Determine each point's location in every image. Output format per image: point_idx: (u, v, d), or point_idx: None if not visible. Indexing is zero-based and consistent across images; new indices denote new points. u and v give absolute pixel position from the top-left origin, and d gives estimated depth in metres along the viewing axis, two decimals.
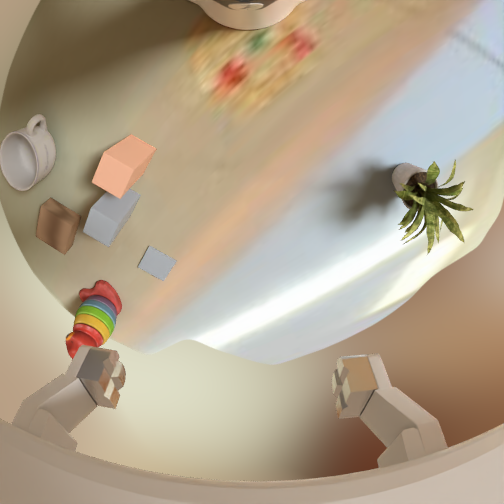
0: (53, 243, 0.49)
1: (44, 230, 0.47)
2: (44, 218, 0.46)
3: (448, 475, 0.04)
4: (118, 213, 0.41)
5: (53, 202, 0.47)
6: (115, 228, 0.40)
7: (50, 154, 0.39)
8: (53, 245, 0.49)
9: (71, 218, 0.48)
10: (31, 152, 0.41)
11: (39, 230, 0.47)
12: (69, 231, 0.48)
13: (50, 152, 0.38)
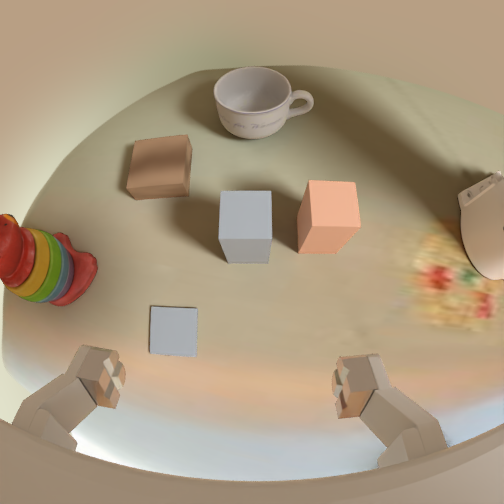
0: (136, 167, 0.37)
1: (152, 149, 0.38)
2: (171, 144, 0.38)
3: (448, 474, 0.04)
4: None
5: (190, 153, 0.41)
6: (260, 237, 0.28)
7: (270, 128, 0.38)
8: (133, 168, 0.37)
9: (186, 181, 0.38)
10: (243, 110, 0.43)
11: (147, 143, 0.38)
12: (170, 182, 0.36)
13: (272, 128, 0.38)
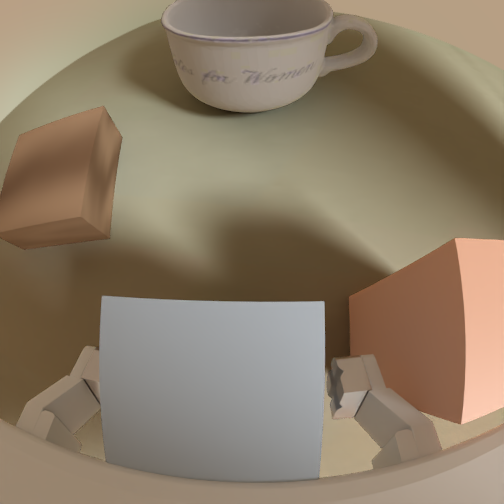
0: (11, 187, 0.14)
1: (39, 145, 0.15)
2: (71, 129, 0.15)
3: (448, 475, 0.04)
4: None
5: (115, 146, 0.18)
6: None
7: (287, 86, 0.15)
8: (6, 189, 0.14)
9: (96, 208, 0.15)
10: None
11: (35, 135, 0.15)
12: (58, 216, 0.14)
13: (291, 85, 0.15)
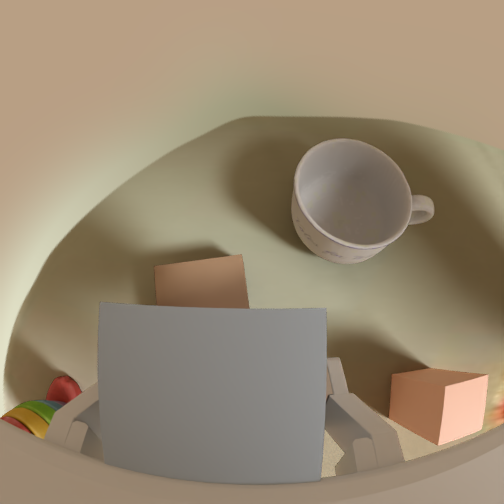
0: None
1: (187, 283, 0.25)
2: (218, 273, 0.25)
3: (448, 474, 0.04)
4: None
5: None
6: None
7: None
8: None
9: None
10: (322, 201, 0.30)
11: (176, 271, 0.26)
12: None
13: (376, 253, 0.25)
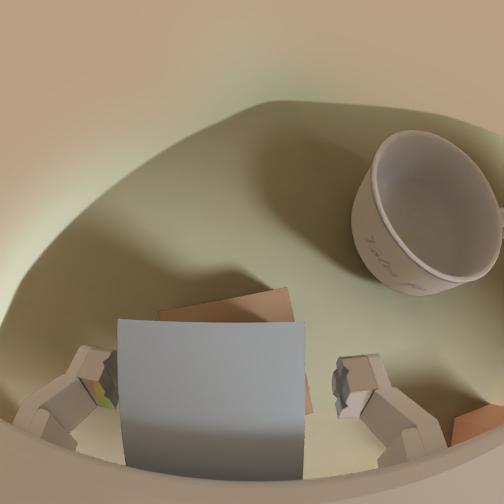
0: None
1: None
2: (256, 318, 0.17)
3: (448, 474, 0.04)
4: None
5: None
6: None
7: None
8: None
9: None
10: (383, 212, 0.22)
11: (193, 317, 0.17)
12: None
13: None
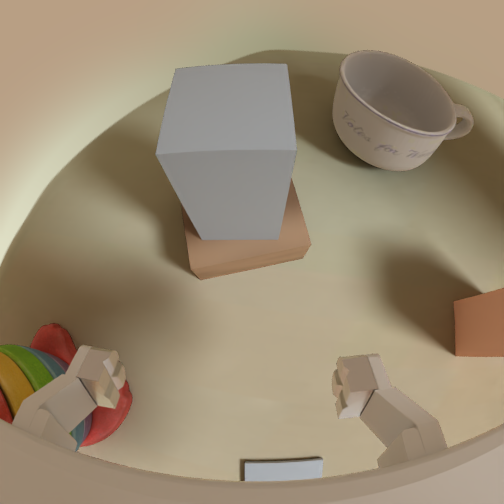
0: None
1: None
2: None
3: (448, 475, 0.04)
4: None
5: None
6: (264, 146, 0.10)
7: (425, 158, 0.21)
8: (192, 223, 0.20)
9: None
10: None
11: None
12: (286, 245, 0.19)
13: (426, 158, 0.21)
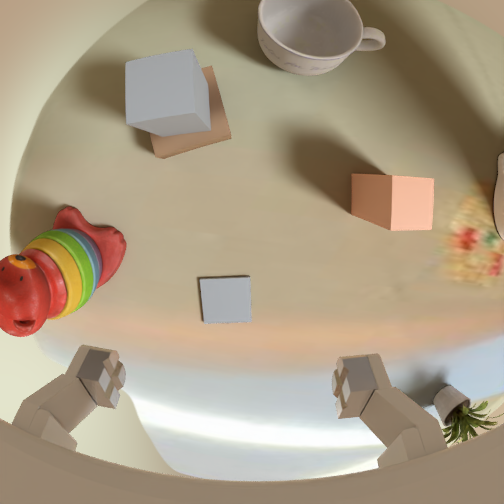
0: None
1: None
2: None
3: (448, 474, 0.04)
4: (198, 105, 0.20)
5: None
6: (178, 112, 0.18)
7: (330, 69, 0.26)
8: None
9: None
10: (286, 29, 0.27)
11: None
12: (214, 136, 0.28)
13: (332, 68, 0.26)
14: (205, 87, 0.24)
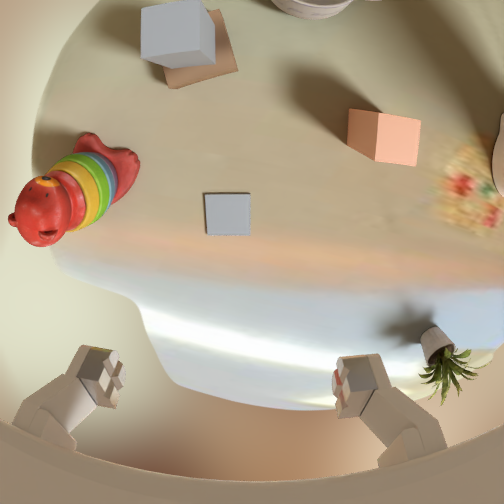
0: None
1: None
2: None
3: (448, 475, 0.04)
4: (204, 43, 0.20)
5: (224, 24, 0.27)
6: (186, 49, 0.19)
7: (331, 15, 0.24)
8: None
9: (234, 60, 0.29)
10: None
11: None
12: (221, 69, 0.28)
13: (333, 14, 0.24)
14: (211, 28, 0.23)
